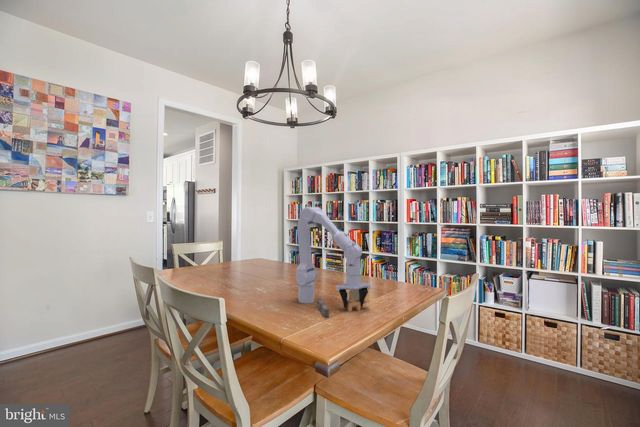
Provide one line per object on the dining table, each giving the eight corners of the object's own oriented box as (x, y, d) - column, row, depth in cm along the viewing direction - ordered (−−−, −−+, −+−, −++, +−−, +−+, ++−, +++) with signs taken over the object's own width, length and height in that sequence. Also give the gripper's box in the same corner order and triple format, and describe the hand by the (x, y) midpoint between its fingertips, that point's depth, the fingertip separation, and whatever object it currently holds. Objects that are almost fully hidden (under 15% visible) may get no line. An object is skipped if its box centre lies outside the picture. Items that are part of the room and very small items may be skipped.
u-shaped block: (346, 310, 122) (346, 300, 122) (357, 309, 123) (357, 299, 123) (349, 313, 118) (349, 303, 118) (360, 312, 119) (360, 302, 119)
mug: (366, 298, 142) (368, 283, 136) (360, 312, 134) (362, 297, 129) (351, 292, 144) (353, 277, 139) (344, 306, 136) (347, 291, 131)
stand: (308, 308, 126) (308, 298, 126) (326, 307, 127) (326, 296, 127) (317, 324, 108) (317, 312, 108) (338, 322, 110) (338, 310, 110)
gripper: (339, 277, 115) (339, 311, 115) (373, 275, 118) (373, 308, 118) (334, 273, 122) (334, 305, 122) (366, 271, 125) (366, 303, 125)
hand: (353, 306), depth 121 cm, fingers open, 6 cm apart
